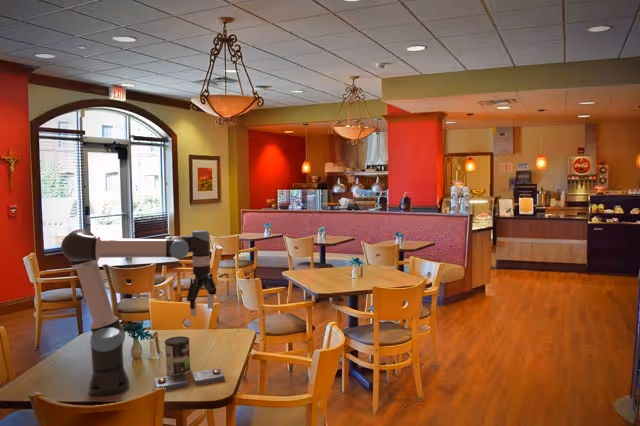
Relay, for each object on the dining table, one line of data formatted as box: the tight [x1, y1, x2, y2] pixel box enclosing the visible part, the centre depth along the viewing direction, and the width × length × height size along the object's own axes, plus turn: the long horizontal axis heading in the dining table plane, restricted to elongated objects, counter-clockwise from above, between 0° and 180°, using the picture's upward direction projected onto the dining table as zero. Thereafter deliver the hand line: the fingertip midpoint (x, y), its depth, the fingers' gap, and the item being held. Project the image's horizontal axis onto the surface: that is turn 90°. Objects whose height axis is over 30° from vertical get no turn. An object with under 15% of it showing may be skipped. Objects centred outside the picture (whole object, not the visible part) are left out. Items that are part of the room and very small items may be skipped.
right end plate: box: [191, 367, 226, 386], centre depth 221 cm, size 12×10×3 cm
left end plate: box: [154, 374, 189, 391], centre depth 216 cm, size 12×10×3 cm
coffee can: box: [164, 336, 191, 376], centre depth 230 cm, size 10×10×14 cm
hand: (202, 312), depth 236 cm, fingers open, 13 cm apart
